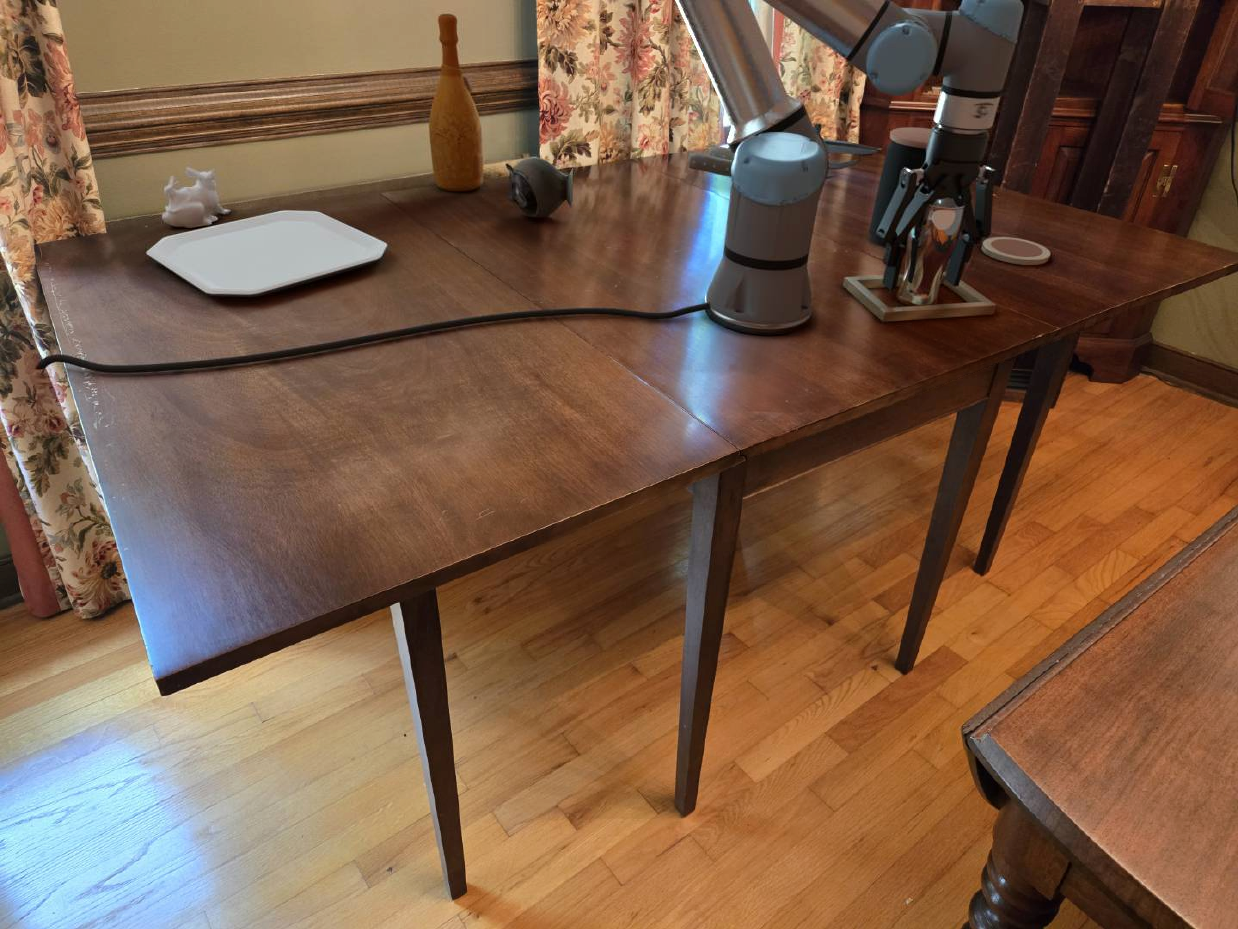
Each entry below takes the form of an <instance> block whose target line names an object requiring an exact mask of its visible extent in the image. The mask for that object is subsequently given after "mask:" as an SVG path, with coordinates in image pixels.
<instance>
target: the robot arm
mask: <svg viewBox="0 0 1238 929" xmlns="http://www.w3.org/2000/svg"><path fill="white" fill-rule="evenodd" d="M762 1H763V2H764V3H766V4H767V5H768V6H770V7H771V8H773V9H775V11H777V12H778V13H780V14H781V15H783V16H784V17H785V18H787V20H789V21H791V22H792V23H794V24H795V25H797V26H798V27H800V28H801V29H802V30H803V31H805V32H807V33H808V35H809V34H810V35H811V36H812V37H813V38H815V39H816V40H818V41H819V42H820V43H822V44H824V45H825V46H826V47H828V48H829V49H831V50H832V51H833V52H835V53H836V54H837V55H838V56H840V57H842V58H843V59H844V60H846V62H848V63H849V64H850V65H851V66H853V67H854V68H856V69H857V70H858V71H860V72H862V73H863V74H864V75H865V76H867V78H868V80H869V81H870V83H871V84H872V85H873V87H874V88H876V89H877V90H878V91H879V92H881V93H883V94H884V95H888V96H892V97H893V96H895V97H897V96H905V95H907V94H911V93H913V92H915V91H916V90H918V89H919V88H920V87H922V85H924V84H925V83H926V81H928V79H929V78H930V76H931V77H943V80H942V84H941V87H940V92H939V96H938V100H937V104H936V107H935V111H934V115H933V122H934V123H935V124H934V125H933V126H932V127H931V128H930V129H931V132H930V136H929V140H928V144H927V149H926V161H925V163H924V164H923V166H922V167H921V169H914V170H910V169H908V168H903V169H902V170H901V172H900V179H899V185H898V187H897V189H896V191H895V193H894V195H893V198H892V200H891V202H890V204H889V206H888V208H887V210H886V212H885V214H884V217H883V219H882V221H881V223H880V225H879V227H878V229H877V231H876V236H877V237H879V238H880V239H881V240H883V241H884V242H886V243H887V244H886V247H885V248H884V254H883V258H882V263H883V265H885V267H884V273H883V275H884V277H883V281H882V283H883V284H884V285H885V286H886V287H885V288H888V289H889V290H890V291H896V289H897V287H896V285H897V281H898V277H899V274H901V273H900V272H901V270H902V269H901V268H902V265H903V261H904V256H905V254H906V251H905V248H906V247H905V246H904V245H902V242H903V241H904V240H905V238H906V237H907V236H908V234H909V233H910V232H911V230H912V229H913V227H914V226H915V225H916V223H917V222H918V221H919V219H920V218H921V217H922V215H923V214H924V213H925V211H926V208H927V205H928V204H930V205H933V204H934V203H935V202H936V200H937V199H945V198H950V199H954V202H955V204H956V205H957V206H958V207H960V206H963V205H964V204H965V203H966V207H965V212H964V218H963V223H962V227H961V231H960V234H961V237H960V236H959V238H958V241H957V244H956V246H955V249H954V251H953V253H952V255H951V258H950V260H949V262H948V264H947V267H946V271H945V272H946V275H945V280H946V281H947V282H949V283H950V284H951V285H953V286H959V283H960V280H962V275H963V272H964V269H965V266H966V263H969V262H970V261H971V258H972V255H973V250H974V247H975V245H979V244H980V243H981V242H982V238H984V239H988V238H990V236H991V234H992V221H993V219H992V218H993V202H994V200H993V199H994V187H995V184H996V181H997V178H998V176H999V171H998V170H996V169H995V168H993V167H990V166H988V165H987V164H986V165H983V166H980V162H981V161H983V159H984V157H985V154H986V150H987V147H988V143H989V139H990V133H989V131H988V130H989V129H991V128H992V127H993V124H994V121H995V117H996V113H997V110H998V107H999V103H1000V101H1001V95H1002V93H1003V89H1004V86H1005V82H1006V79H1007V75H1008V72H1009V68H1010V64H1011V62H1012V59H1013V54H1014V51H1015V48H1016V44H1017V43H1018V36H1019V31H1020V27H1021V23H1022V19H1023V14H1024V3H1023V2H1022V1H1021V0H962V1H961V4H960V6H959V7H958V10H946V11H943V10H933V9H921V8H911V7H900V6H899V5H898V4H896V3H895V2H893V1H892V0H762ZM675 2H676V4H677V6H678V8H679V10H680V13H681V16H682V18H683V19H684V20H683V21H684V22H685V23H686V26H687V29H688V32H689V33H690V35H691V37H692V41H693V42H694V45H695V46H696V49H697V51H698V53H699V56H700V58H701V60H702V62H703V64H704V68H705V69H706V71H707V73H708V76H709V78H710V80H711V82H712V85H713V87H714V89H715V92H716V94H717V97H718V98H719V100H720V102H721V106H722V107H723V110H724V112H725V114H726V116H727V119H728V120H729V123H730V131H729V134H728V137H727V140H726V143H727V145H728V148H729V147H730V150H731V152H732V154H733V156H734V161H733V163H732V168H731V174H732V177H731V183H730V192H729V200H728V209H727V218H726V226H725V233H724V242H723V253H722V256H721V260H720V262H719V264H718V266H717V268H716V271H715V273H714V275H713V278H712V280H711V282H710V284H709V286H708V289H707V291H706V293H705V298H704V302H703V303H699V304H695V305H690V306H685V307H682V308H678V309H676V310H672V311H664V312H652V311H651V312H649V311H639V310H634V309H633V310H632V309H626V308H616V307H571V308H569V307H568V308H553V309H551V308H550V309H536V310H524V311H523V310H522V311H513V312H504V313H495V314H487V315H480V316H479V315H478V316H471V317H465V318H459V319H452V320H446V321H440V322H439V321H438V322H433V323H428V324H421V325H417V326H410V327H404V328H400V329H394V330H390V331H385V332H384V331H383V332H379V333H373V334H368V335H361V336H357V337H352V338H346V339H341V340H336V341H329V342H324V343H317V344H313V345H305V346H300V347H294V348H289V349H282V350H277V351H269V352H262V353H261V352H260V353H253V354H246V355H238V356H231V357H221V358H212V359H211V358H210V359H202V360H201V359H199V360H190V361H189V360H188V361H177V362H176V361H175V362H163V363H161V362H160V363H148V364H118V365H117V364H104V363H103V364H102V363H97V362H93V361H88V360H86V359H83V358H79V357H76V356H73V355H67V354H50V355H47V356H45V357H43V358H42V359H40V360H39V362H38V363H37V364H36V365H35V367H34V370H37V371H39V370H45V369H47V367H49V366H50V365H52V364H54V363H64V364H68V365H72V366H75V367H79V368H82V369H86V370H89V371H94V372H97V373H98V372H99V373H104V374H105V373H107V374H139V373H158V372H170V371H183V370H195V369H196V370H197V369H209V368H217V367H225V366H226V367H227V366H234V365H235V366H236V365H242V364H250V363H255V362H256V363H257V362H265V361H271V360H279V359H284V358H285V359H286V358H291V357H296V356H304V355H309V354H314V353H320V352H326V351H331V350H332V351H333V350H335V349H336V350H337V349H343V348H347V347H353V346H358V345H364V344H368V343H374V342H380V341H384V340H390V339H395V338H400V337H401V338H402V337H405V336H412V335H416V334H421V333H427V332H432V331H438V330H446V329H450V328H451V329H452V328H456V327H457V328H458V327H464V326H470V325H476V324H485V323H491V322H498V321H499V322H500V321H501V322H502V321H509V320H519V319H531V318H543V317H544V318H545V317H558V316H560V317H561V316H576V315H577V316H578V315H607V316H608V315H609V316H622V317H628V318H637V319H645V320H667V319H674V318H678V317H680V316H681V317H682V316H684V315H689V314H693V313H696V312H702V311H704V313H705V314H706V315H707V316H708V317H709V319H711V320H712V321H713V322H715V323H717V324H718V325H720V326H722V327H724V328H727V329H730V330H733V331H737V332H740V333H746V334H751V335H761V336H776V335H786V334H791V333H795V332H797V331H801V330H802V329H804V328H806V327H807V326H808V325H809V323H810V322H811V319H812V315H813V309H814V308H813V307H814V306H813V296H812V290H811V284H810V276H809V271H808V262H809V256H810V251H811V246H812V239H813V235H814V234H813V233H814V229H815V222H816V217H817V211H818V206H819V202H820V199H821V196H822V192H823V189H824V186H825V183H826V181H827V180H828V179H827V176H828V175H829V171H830V170H829V162H830V154H829V152H828V149H827V146H826V143H825V141H824V139H825V138H823V137H822V135H821V132H820V133H819V132H818V131H817V130H816V129H815V128H814V126H813V123H812V120H811V118H810V116H809V113H808V111H807V109H806V106H805V104H804V102H803V100H801V99H799V98H796V97H793V96H791V95H790V94H789V93H787V90H786V87H785V85H784V82H783V80H782V77H781V76H780V73H779V70H778V68H777V66H776V63H775V61H774V58H773V55H772V54H771V51H770V49H769V46H768V44H767V42H766V39H765V36H764V34H763V32H762V29H761V27H760V25H759V23H758V20H757V18H756V15H755V11H754V10H753V8H752V5H751V2H750V1H749V0H675ZM920 179H922V182H923V183H922V184H921V186H920V187H919V188H918V190H917V191H916V193H915V197H914V199H913V200H912V201H911V203H910V204H909V202H910V200H911V198H912V196H913V193H914V191H915V187H916V186H918V185H919V180H920ZM974 181H975V194H974V209H973V203H972V200H973V196H972V192H971V187H970V186H971V185H973V183H974ZM926 193H928V194H929V195H928V196H926V195H925V194H926ZM908 204H909V206H908ZM907 206H908V207H907Z"/></svg>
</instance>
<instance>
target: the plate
mask: <svg viewBox="0 0 1238 929" xmlns="http://www.w3.org/2000/svg"><path fill="white" fill-rule="evenodd" d="M387 249H388V244H387V243H386V242H384V241H383V240H380V239H379V238H377V237H374V236H372V235H369V234H367V233H366V232H363V231H361V230H359V229H357V228H355V227H352V226H350V225H348V224H346V223H344V222H342V221H339V220H337V219H335V218H333V217H331V216H329V215H326V214H324V213H323V212H320V211H317V210H316V211H315V210H287V209H286V210H279V211H274V212H269V213H265V214H261V215H255V216H251V217H248V218H243V219H238V220H234V221H229V222H225V223H220V224H216V225H212V226H207V227H203V228H199V229H194V230H190V231H185V232H181V233H177V234H171V235H167V236H165V237H162V238H161V239H159V241H157V242H156V243H155V244H154V245H153V246H151V247H150V248H149V249H148V250H147V251H146V256H147V257H148V258H149V259H151V260H153V261H155V262H156V263H158V264H159V265H161V267H164V268H165V269H166V270H168V271H170V272H171V273H173V274H174V275H176V276H177V277H179V278H180V279H182V280H183V281H185V282H187V283H188V284H190V286H192V287H194V288H196V289H197V290H198V291H200V292H202V293H203V294H205V295H206V296H210V297H235V298H237V297H238V298H239V297H240V298H241V297H242V298H243V297H244V298H246V297H247V298H259V297H265V296H269V295H272V294H275V293H279V292H282V291H286V290H289V289H292V288H296V287H300V286H303V285H306V284H311V283H313V282H317V281H321V280H324V279H327V278H331V277H334V276H338V275H341V274H344V273H348V272H351V271H355V270H358V269H361V268H363V267H366V266H369V265H372V264H374V263H377V262H379V261H381V259H383V256H384V255H385V252H386V251H387Z"/></svg>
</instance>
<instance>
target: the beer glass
mask: <svg viewBox="0 0 1238 929" xmlns="http://www.w3.org/2000/svg"><path fill="white" fill-rule="evenodd" d="M925 195H926V196H928V195H929V194H925ZM965 207H966V203H965V204H964V205H963V206H960V207H958V206H957V205H956V204H955V202H954V199H950V198H945V199H937V200H936V202H935V203H934V204H933V205H930V204H928V205H927V208H926V211H925V213H924V214H923V215H922V217H921V218H920V219H919V221H918V222H917V223H916V225H915V226H914V227H913V229H912V230H911V232H910V233H909V234H908V237H907V247H906V251H905V263H904V264H905V266H904V271H903V272H904V273H903V274H904V277H903V280H902V283H901V285H900V286H899V287H898V289H897V291H896V294H895V298H896V300H897V301H898V302H899V303H901V304H903V305H906V306H907V307H909V306H925V305H938V301H939V291H940V285H941V284H940V280H941V277H942V275H943V272H945V270H946V269H947V267H948V265H949V261H950V258H951V255H952V253H953V251H954V249H955V246H956V244H957V241H958V238H959V237H960V235H961V227H962V223H963V218H964V212H965Z"/></svg>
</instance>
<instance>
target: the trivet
mask: <svg viewBox="0 0 1238 929" xmlns="http://www.w3.org/2000/svg"><path fill="white" fill-rule="evenodd" d="M981 251H982V252H983V253H984V254H985V255H986V256H989V257H990V258H992V259H995V260H997V261H1000V262H1004V263H1008V264H1014V265H1019V266H1020V265H1021V266H1039V265H1043V264H1046V263H1048V261H1050V258H1051V251H1050V250H1049V249H1048V248H1047V247H1045V246H1044V245H1041V244H1039V243H1036V242H1034V241H1031V240H1028V239H1023V238H1017V237H1009V236H994V237H987V238H985V239H984V240H983V241H982V244H981Z"/></svg>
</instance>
